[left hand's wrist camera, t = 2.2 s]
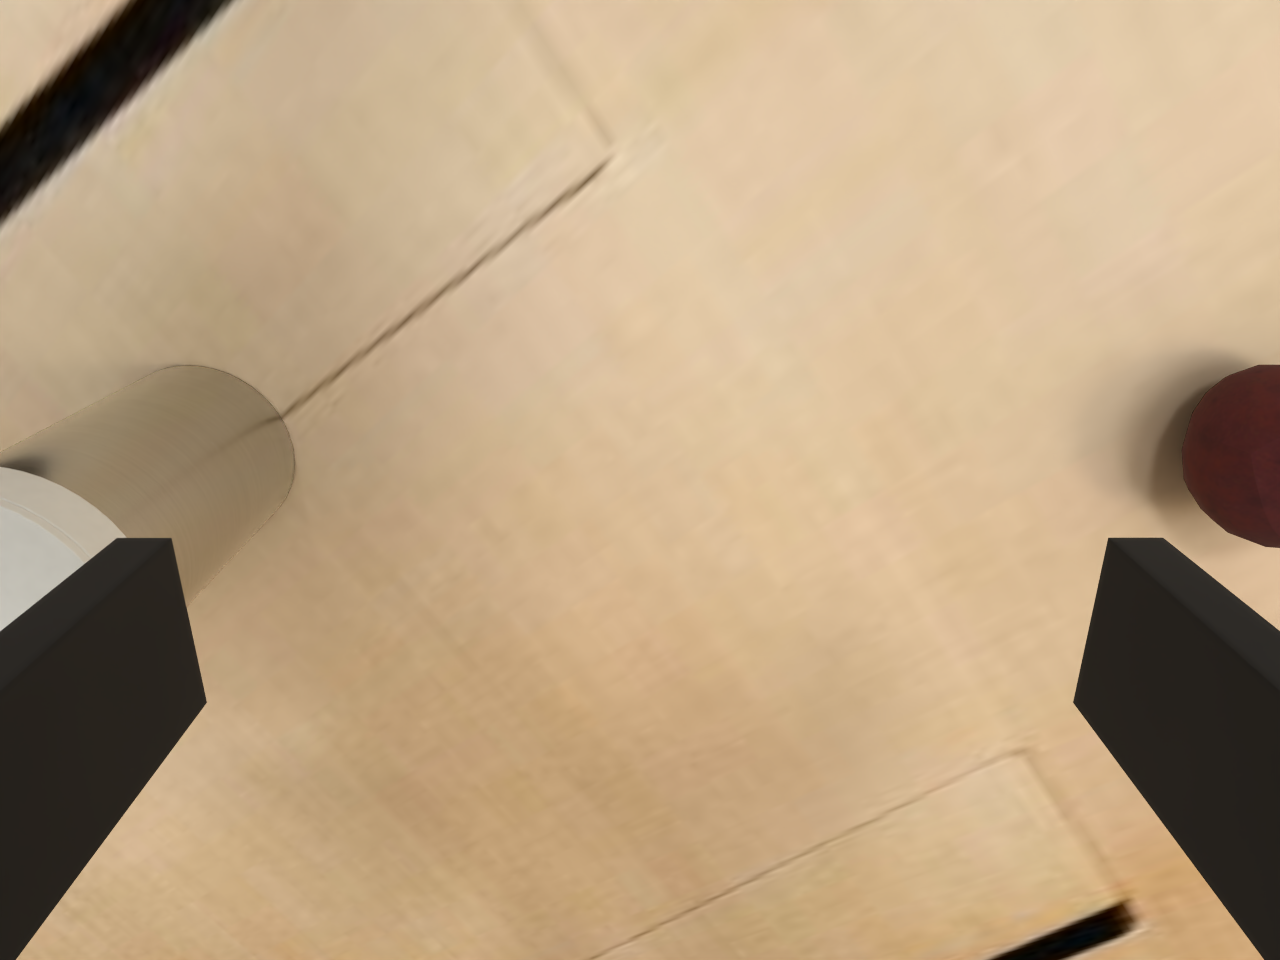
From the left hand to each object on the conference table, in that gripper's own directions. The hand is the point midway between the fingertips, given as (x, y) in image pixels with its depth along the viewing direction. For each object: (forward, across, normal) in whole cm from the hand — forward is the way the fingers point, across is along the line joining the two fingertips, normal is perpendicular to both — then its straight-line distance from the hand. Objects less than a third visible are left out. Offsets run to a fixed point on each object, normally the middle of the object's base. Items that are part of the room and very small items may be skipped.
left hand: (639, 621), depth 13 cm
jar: (+28, -20, -8) cm, 35 cm away
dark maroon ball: (+28, +27, -6) cm, 39 cm away
